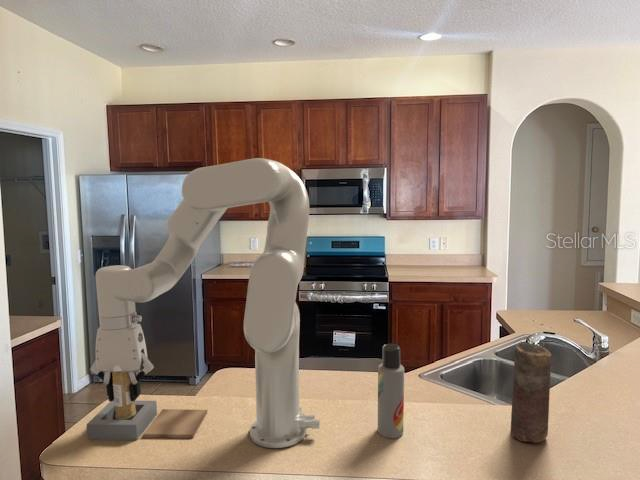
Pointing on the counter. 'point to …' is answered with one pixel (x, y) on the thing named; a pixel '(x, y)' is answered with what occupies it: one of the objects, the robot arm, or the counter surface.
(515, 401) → the candle
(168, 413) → the coaster board
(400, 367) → the lotion bottle
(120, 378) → the sprinkles bottle
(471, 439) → the counter surface
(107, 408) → the grey square tray
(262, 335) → the robot arm
